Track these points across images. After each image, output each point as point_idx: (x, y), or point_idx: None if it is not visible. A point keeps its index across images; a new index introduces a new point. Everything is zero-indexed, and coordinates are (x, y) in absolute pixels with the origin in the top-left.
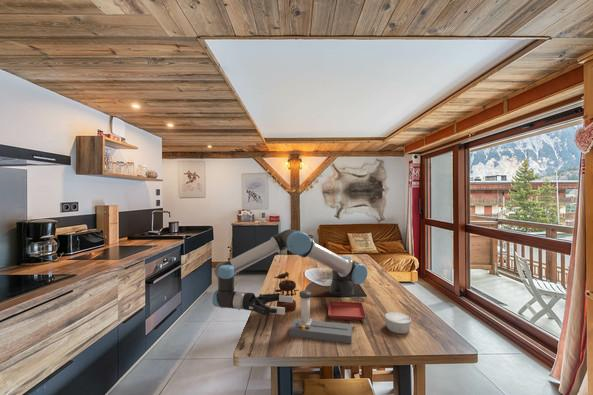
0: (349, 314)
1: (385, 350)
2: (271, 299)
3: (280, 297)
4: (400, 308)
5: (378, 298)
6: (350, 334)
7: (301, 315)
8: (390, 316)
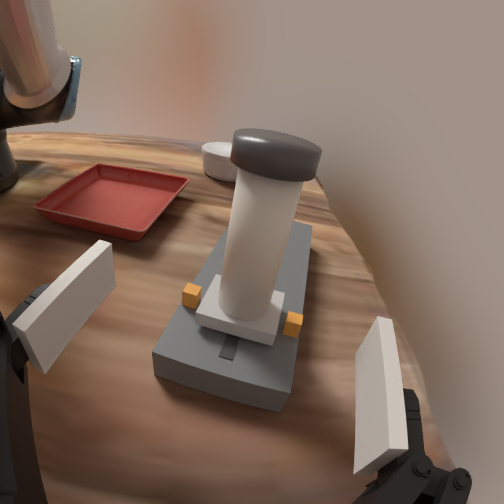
0: (130, 201)
1: (321, 212)
2: (24, 439)
3: (40, 333)
4: (136, 148)
5: (69, 153)
6: (303, 224)
7: (263, 290)
8: (225, 152)
